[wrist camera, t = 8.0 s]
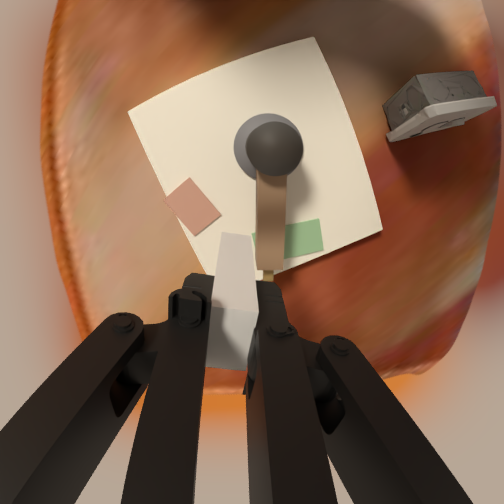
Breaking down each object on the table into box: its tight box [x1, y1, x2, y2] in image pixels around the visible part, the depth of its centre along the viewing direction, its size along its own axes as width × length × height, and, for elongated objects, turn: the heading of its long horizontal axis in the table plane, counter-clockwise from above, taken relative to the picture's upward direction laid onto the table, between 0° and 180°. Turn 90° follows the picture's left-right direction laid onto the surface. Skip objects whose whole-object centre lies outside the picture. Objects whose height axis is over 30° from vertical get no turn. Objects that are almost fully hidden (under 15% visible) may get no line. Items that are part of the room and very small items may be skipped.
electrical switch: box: [382, 71, 497, 142], centre depth 20 cm, size 9×5×9 cm, turn 110°
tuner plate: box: [128, 37, 383, 281], centre depth 25 cm, size 20×18×2 cm
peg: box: [245, 121, 303, 281], centre depth 23 cm, size 14×4×4 cm, turn 0°
